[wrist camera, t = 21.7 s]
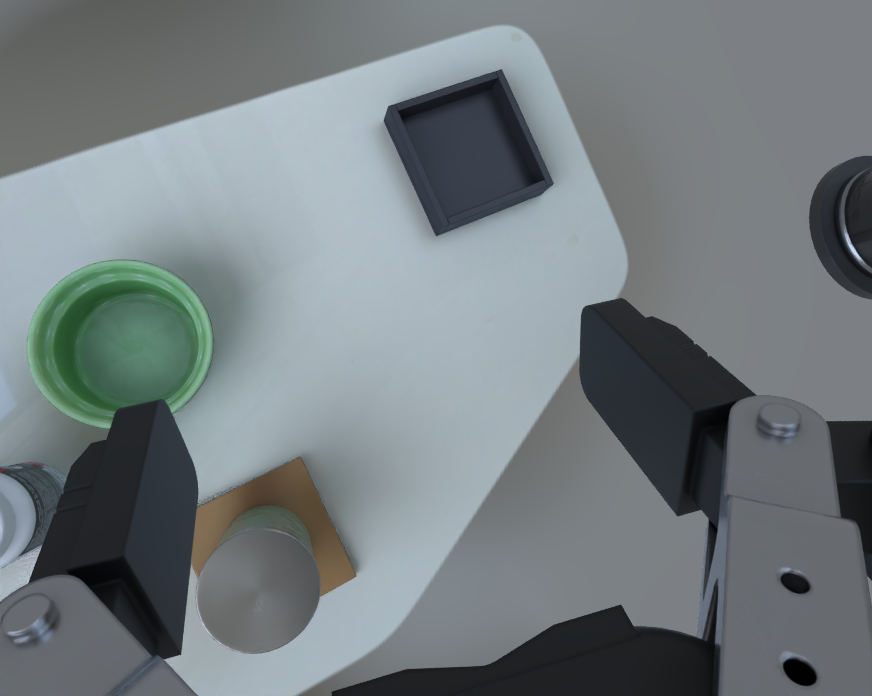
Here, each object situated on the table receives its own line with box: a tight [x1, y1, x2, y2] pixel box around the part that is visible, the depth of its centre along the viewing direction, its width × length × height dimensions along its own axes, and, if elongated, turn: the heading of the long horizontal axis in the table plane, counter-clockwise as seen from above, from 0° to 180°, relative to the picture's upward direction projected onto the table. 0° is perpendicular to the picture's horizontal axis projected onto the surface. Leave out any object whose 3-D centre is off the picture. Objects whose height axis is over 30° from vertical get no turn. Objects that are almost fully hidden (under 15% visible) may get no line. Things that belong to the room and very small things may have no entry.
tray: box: [384, 69, 554, 236], centre depth 42 cm, size 9×9×2 cm
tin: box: [196, 505, 321, 654], centre depth 32 cm, size 5×5×9 cm
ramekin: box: [27, 260, 214, 429], centre depth 34 cm, size 9×9×4 cm
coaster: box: [191, 457, 356, 597], centre depth 37 cm, size 8×8×1 cm
